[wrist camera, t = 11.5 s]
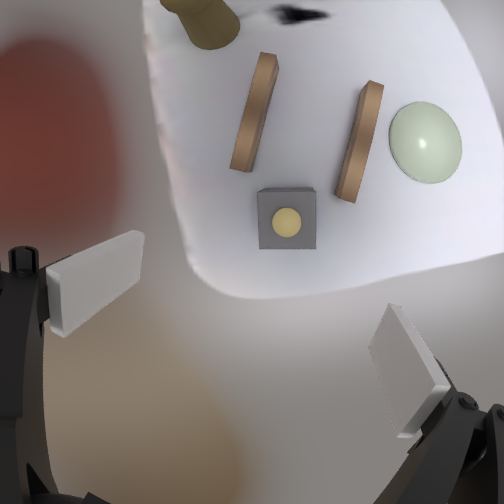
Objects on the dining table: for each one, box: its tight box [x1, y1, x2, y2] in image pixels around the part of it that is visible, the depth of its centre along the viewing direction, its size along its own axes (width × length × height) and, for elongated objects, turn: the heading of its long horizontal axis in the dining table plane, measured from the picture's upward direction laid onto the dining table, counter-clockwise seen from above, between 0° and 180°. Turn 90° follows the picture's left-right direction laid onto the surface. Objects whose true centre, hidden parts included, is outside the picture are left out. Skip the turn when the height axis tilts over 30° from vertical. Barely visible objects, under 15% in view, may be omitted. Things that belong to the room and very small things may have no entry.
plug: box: [257, 188, 316, 249], centre depth 28 cm, size 5×5×7 cm
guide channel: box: [230, 52, 384, 203], centre depth 26 cm, size 12×12×4 cm
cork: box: [160, 0, 240, 50], centre depth 21 cm, size 6×6×11 cm
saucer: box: [389, 102, 462, 183], centre depth 26 cm, size 9×9×1 cm
